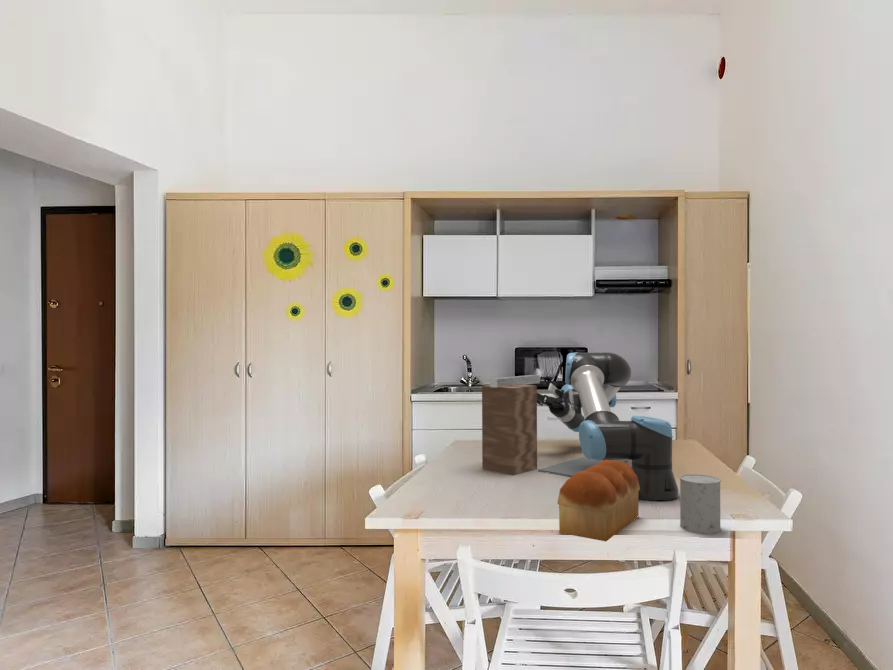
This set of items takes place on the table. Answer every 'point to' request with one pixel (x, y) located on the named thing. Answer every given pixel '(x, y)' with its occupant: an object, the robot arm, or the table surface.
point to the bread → (599, 501)
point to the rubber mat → (573, 466)
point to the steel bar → (514, 381)
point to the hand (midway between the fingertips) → (534, 385)
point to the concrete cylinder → (700, 503)
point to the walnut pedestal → (509, 429)
